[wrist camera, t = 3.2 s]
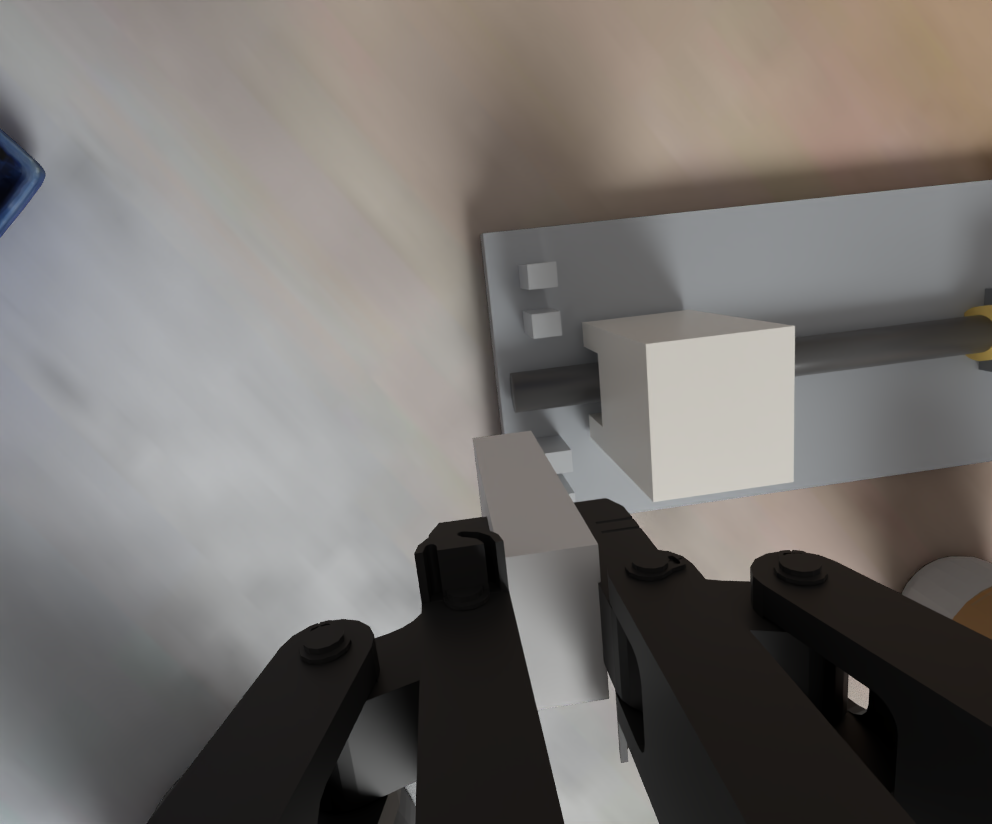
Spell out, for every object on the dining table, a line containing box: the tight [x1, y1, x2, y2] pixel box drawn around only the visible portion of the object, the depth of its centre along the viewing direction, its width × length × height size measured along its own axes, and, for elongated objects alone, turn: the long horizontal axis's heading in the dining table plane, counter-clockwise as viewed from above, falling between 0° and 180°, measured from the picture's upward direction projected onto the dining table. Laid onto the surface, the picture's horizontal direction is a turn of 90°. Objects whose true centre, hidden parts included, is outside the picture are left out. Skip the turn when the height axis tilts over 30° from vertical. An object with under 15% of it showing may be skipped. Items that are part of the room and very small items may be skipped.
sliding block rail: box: [480, 180, 992, 514], centre depth 28 cm, size 27×14×6 cm, turn 96°
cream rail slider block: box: [582, 310, 795, 502], centre depth 24 cm, size 5×5×8 cm
